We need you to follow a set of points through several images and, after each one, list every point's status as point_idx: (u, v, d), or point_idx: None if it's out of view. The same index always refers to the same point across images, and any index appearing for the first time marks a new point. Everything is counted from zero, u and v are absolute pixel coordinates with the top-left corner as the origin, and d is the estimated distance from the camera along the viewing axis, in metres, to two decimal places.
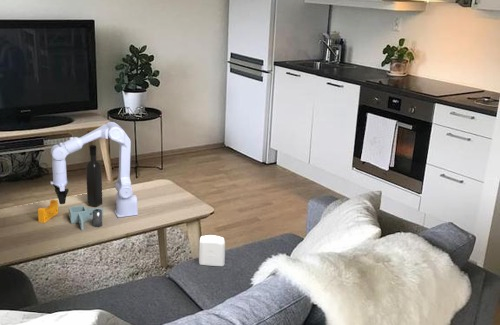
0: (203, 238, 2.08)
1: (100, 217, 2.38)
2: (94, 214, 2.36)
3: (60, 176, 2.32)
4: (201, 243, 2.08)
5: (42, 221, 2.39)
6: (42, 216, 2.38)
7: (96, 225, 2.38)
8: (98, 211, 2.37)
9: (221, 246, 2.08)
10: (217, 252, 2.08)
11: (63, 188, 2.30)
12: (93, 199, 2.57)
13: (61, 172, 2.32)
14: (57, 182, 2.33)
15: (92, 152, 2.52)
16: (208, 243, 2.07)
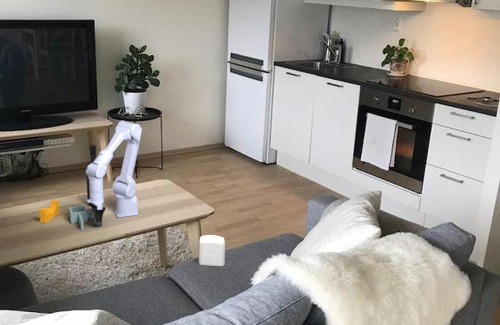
0: (203, 238, 2.08)
1: None
2: (94, 214, 2.36)
3: (97, 195, 2.33)
4: (201, 243, 2.08)
5: (43, 221, 2.39)
6: (43, 216, 2.38)
7: (96, 225, 2.38)
8: None
9: (221, 246, 2.08)
10: (217, 252, 2.08)
11: (100, 206, 2.30)
12: None
13: (101, 189, 2.33)
14: (94, 200, 2.33)
15: (92, 152, 2.52)
16: (208, 243, 2.07)
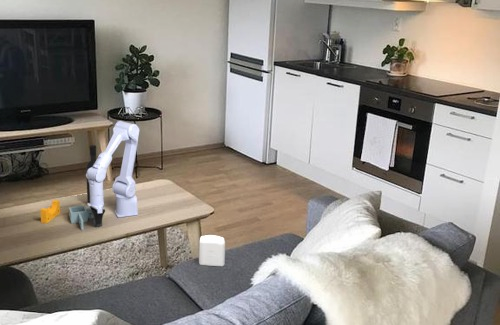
0: (203, 238, 2.08)
1: None
2: None
3: (97, 198, 2.33)
4: (201, 243, 2.08)
5: (45, 221, 2.39)
6: (45, 216, 2.38)
7: (96, 225, 2.38)
8: None
9: (221, 246, 2.08)
10: (217, 252, 2.08)
11: (101, 210, 2.31)
12: None
13: (101, 193, 2.34)
14: (94, 204, 2.34)
15: (92, 152, 2.52)
16: (208, 243, 2.07)
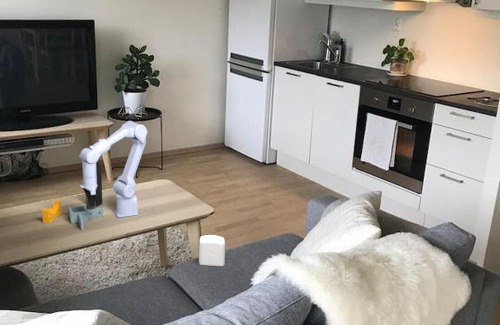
0: (203, 238, 2.08)
1: None
2: None
3: (90, 180, 2.32)
4: (201, 243, 2.08)
5: (47, 222, 2.39)
6: (47, 217, 2.38)
7: (89, 207, 2.37)
8: None
9: (221, 246, 2.08)
10: (217, 252, 2.08)
11: (94, 192, 2.30)
12: None
13: (94, 175, 2.33)
14: (87, 186, 2.33)
15: None
16: (208, 243, 2.07)
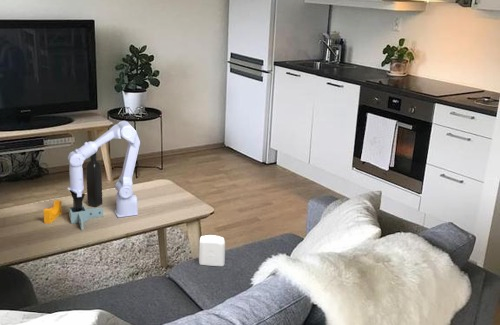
0: (203, 238, 2.08)
1: None
2: None
3: (77, 183, 2.36)
4: (201, 243, 2.08)
5: (48, 222, 2.39)
6: (48, 217, 2.38)
7: (76, 209, 2.41)
8: None
9: (221, 246, 2.08)
10: (217, 252, 2.08)
11: (80, 194, 2.34)
12: (93, 199, 2.57)
13: (78, 178, 2.36)
14: (74, 188, 2.37)
15: None
16: (208, 242, 2.07)
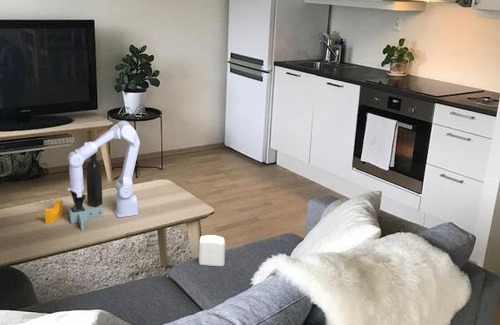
0: (203, 238, 2.08)
1: None
2: (75, 208, 2.41)
3: (77, 183, 2.36)
4: (201, 243, 2.08)
5: (49, 222, 2.39)
6: (49, 217, 2.38)
7: None
8: None
9: (221, 246, 2.08)
10: (217, 252, 2.08)
11: (80, 194, 2.34)
12: (93, 199, 2.57)
13: (78, 178, 2.36)
14: (74, 188, 2.37)
15: None
16: (208, 243, 2.07)
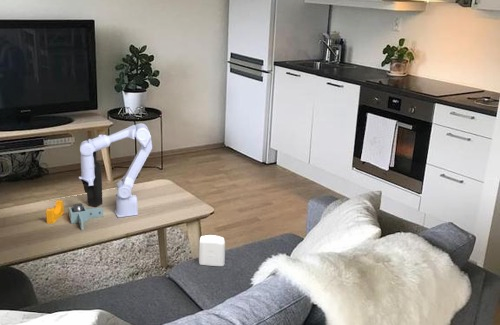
0: (203, 238, 2.08)
1: None
2: (75, 208, 2.41)
3: (88, 171, 2.40)
4: (201, 243, 2.08)
5: (50, 222, 2.39)
6: (50, 217, 2.38)
7: None
8: (79, 205, 2.42)
9: (221, 246, 2.08)
10: (217, 252, 2.08)
11: (92, 183, 2.37)
12: (93, 199, 2.57)
13: (88, 167, 2.39)
14: (85, 177, 2.40)
15: None
16: (208, 242, 2.07)
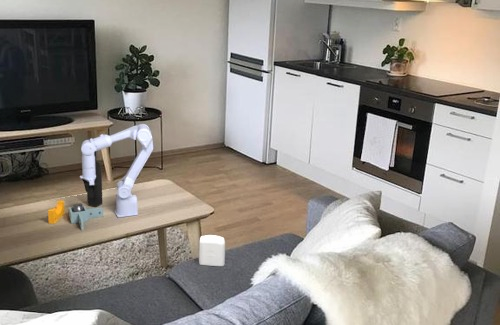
0: (203, 238, 2.08)
1: None
2: (75, 208, 2.41)
3: (89, 171, 2.40)
4: (201, 243, 2.08)
5: (52, 222, 2.39)
6: (52, 217, 2.38)
7: None
8: (79, 205, 2.42)
9: (221, 246, 2.08)
10: (217, 252, 2.08)
11: (93, 182, 2.38)
12: (93, 199, 2.57)
13: (89, 167, 2.40)
14: (86, 176, 2.41)
15: None
16: (208, 242, 2.07)
